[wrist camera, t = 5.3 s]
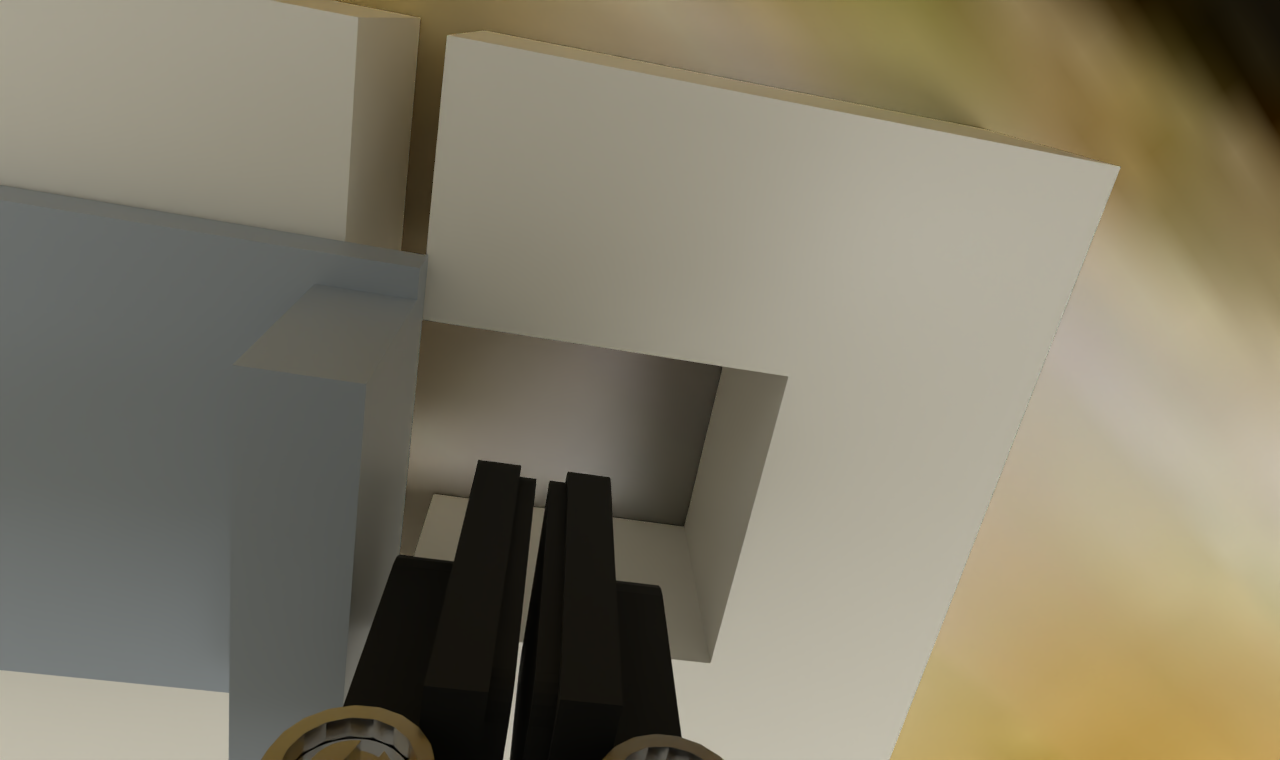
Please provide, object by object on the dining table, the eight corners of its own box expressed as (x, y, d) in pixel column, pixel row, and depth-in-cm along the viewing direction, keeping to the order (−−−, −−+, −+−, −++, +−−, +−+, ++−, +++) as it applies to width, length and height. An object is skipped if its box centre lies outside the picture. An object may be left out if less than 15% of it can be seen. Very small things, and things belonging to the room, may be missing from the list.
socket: (987, 129, 15) (1120, 167, 11) (806, 680, 19) (858, 838, 15) (-177, -101, 12) (-496, -151, 9) (-74, 583, 17) (-258, 741, 13)
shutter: (428, 255, 11) (368, 343, 8) (387, 679, 13) (331, 867, 10) (-166, 157, 10) (-483, 216, 7) (-90, 629, 12) (-299, 818, 10)
